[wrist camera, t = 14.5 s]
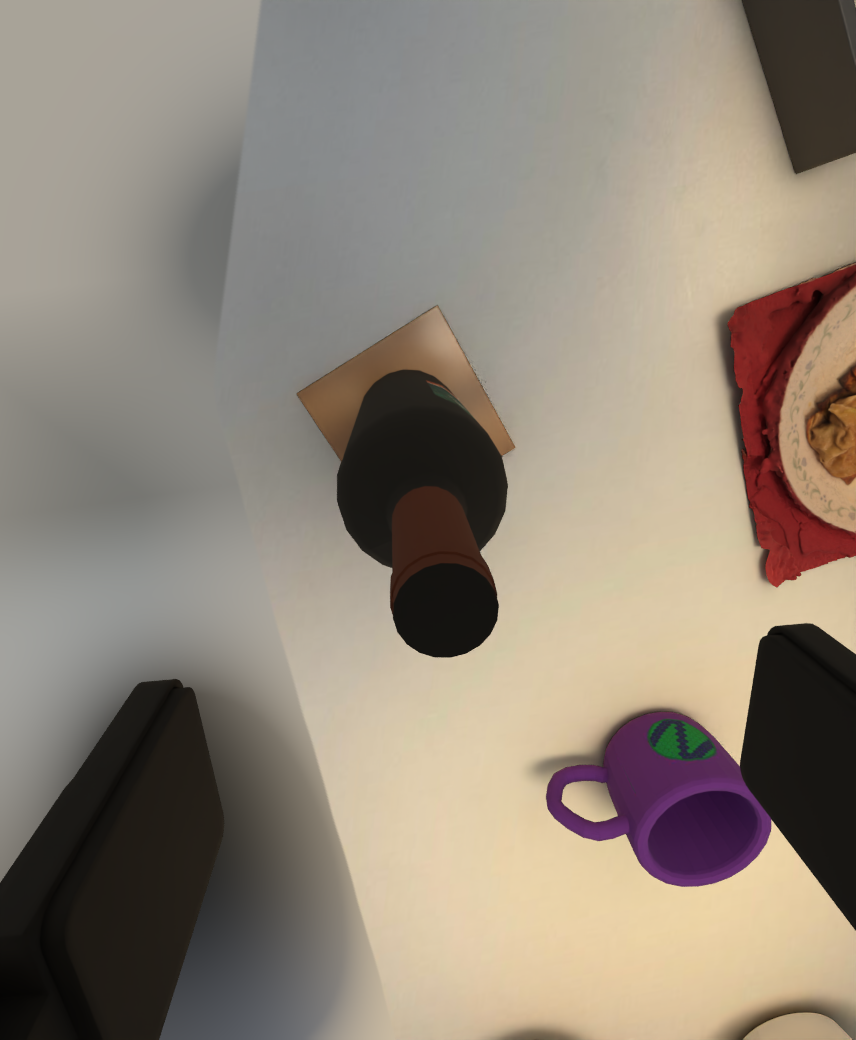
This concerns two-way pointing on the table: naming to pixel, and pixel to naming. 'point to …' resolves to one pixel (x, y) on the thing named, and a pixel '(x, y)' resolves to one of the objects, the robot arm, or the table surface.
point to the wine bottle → (426, 508)
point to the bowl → (799, 1028)
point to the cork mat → (408, 349)
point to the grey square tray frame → (809, 74)
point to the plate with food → (800, 420)
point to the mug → (671, 801)
